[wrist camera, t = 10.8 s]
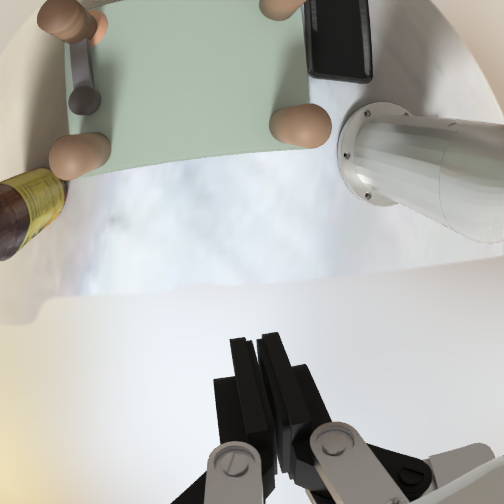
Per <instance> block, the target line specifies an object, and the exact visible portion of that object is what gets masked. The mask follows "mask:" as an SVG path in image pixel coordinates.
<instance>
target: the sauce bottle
mask: <svg viewBox="0 0 504 504" xmlns="http://www.w3.org/2000/svg"><path fill="white" fill-rule="evenodd" d="M66 197H67V191H66V187H65V184H64V182H63V180H62V179H60V178H58V177H56V176H55V175H54V173H53V172H52V170H51V169H47V168H39V169H33V170H30V171H27V172H24V173H22V174H19V175H16V176H14V177H11V178H9V179H7V180H4V181H1V182H0V261H5V260H7V259H9V258H11V257H12V256H13V255H14V254H15V253H17V252H18V251H19V250H20V249H21V248H22V247H23V246H24V245H25V244H26V243H28V242H29V241H30V240H31V239H32V238H33V237H34V236H36V235H37V234H38V233H39V232H40V231H42V230H43V229H44V228H45V227H46V226H48V225H49V224H50V223H51V222H52V221H54V220H55V219H56V218H57V217H58V215H59V214H60V213H61V211H62V209H63V207H64V205H65V201H66Z"/></svg>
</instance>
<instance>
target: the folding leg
mask: <svg viewBox="0 0 504 504" xmlns="http://www.w3.org/2000/svg"><path fill="white" fill-rule="evenodd" d="M37 23H38V26H39V27H40V28H41V29H42V30H44V31H46V32H48V33H49V34H51V35H53V36H55V37H57V38H59V39H60V40H62V41H64V42H66V43H68V44H69V47H70V60H71V71H72V80H73V89H74V90H73V92H72V93H71V95H70V97H69V100H68V105H69V109H70V110H71V112H72V113H74V114H76V115H91V114H93V113H94V112H96V111H97V109H98V108H99V106H100V103H101V95H100V93H99V92H98V91H97V90H96V89H95V86H94V78H93V69H92V59H91V48H90V40H91V39H92V38H93V36H94V35H95V33H96V31H97V21H96V19H95V18H94V17H93V16H92V15H91V14H90V13H89V12H88V11H87V10H86V9H85V8H84V7H83V6H82V5H81V4H80V3H79V2H77V1H76V0H47V1H46V2H45V3H44V4H43V6H42V7H41V9H40V10H39V13H38V16H37Z"/></svg>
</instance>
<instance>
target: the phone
mask: <svg viewBox="0 0 504 504" xmlns="http://www.w3.org/2000/svg"><path fill="white" fill-rule="evenodd" d="M304 15H305V37H306V63H307V72H308V74H309V75H310V76H311V77H313V78H316V79H325V80H334V81H343V82H351V83H358V84H366V83H369V82H370V81H371V80H372V78H373V65H372V44H371V29H370V17H369V6H368V0H306V1H305V2H304Z"/></svg>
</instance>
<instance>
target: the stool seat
mask: <svg viewBox="0 0 504 504" xmlns="http://www.w3.org/2000/svg"><path fill="white" fill-rule="evenodd" d="M305 1H306V0H122V1H118V2H114V3H110V4H106V5H102V6H98V7H95V8H91V9H88V10H87V11H88V12H89V13H90V14H91V15H92V16H93V17H94V18H95V19H96V21H97V31H96V33H95V35H94V36H93V38H92V39H91V40H90V48H91V59H92V69H93V78H94V86H95V89H96V90H97V91H98V92H99V93H100V95H101V103H100V106H99V108H98V109H97V111H96V112H94V113H93V114H91V115H76V114H74V113H72V112H71V110H70V109H69V105H68V100H69V97H70V95H71V93H72V92H73V90H74V89H73V80H72V71H71V60H70V47H69V44H68V43H66V42H64V61H65V86H66V101H67V113H68V123H69V132H70V135H66V136H63V137H61V138H59V139H58V140H56V141H55V143H54V144H53V145H52V147H51V149H50V152H49V165H50V168H51V170H52V172H53V173H54V175H55V176H56V177H58V178H60V179H62V180H73V179H80V178H85V177H89V176H94V175H99V174H104V173H109V172H115V171H120V170H125V169H131V168H137V167H143V166H149V165H155V164H162V163H168V162H175V161H182V160H190V159H198V158H206V157H214V156H223V155H233V154H243V153H254V152H267V151H281V150H297V149H312V148H317V147H319V146H321V145H323V144H324V143H325V142H326V141H327V140H328V138H329V137H330V134H331V130H332V123H331V119H330V117H329V115H328V113H327V112H326V111H325V110H324V109H323V108H322V107H320V106H318V105H315V104H310V101H309V87H308V74H307V63H306V52H305V41H304V32H303V23H302V14H301V5H302V4H303V3H304V2H305Z"/></svg>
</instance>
